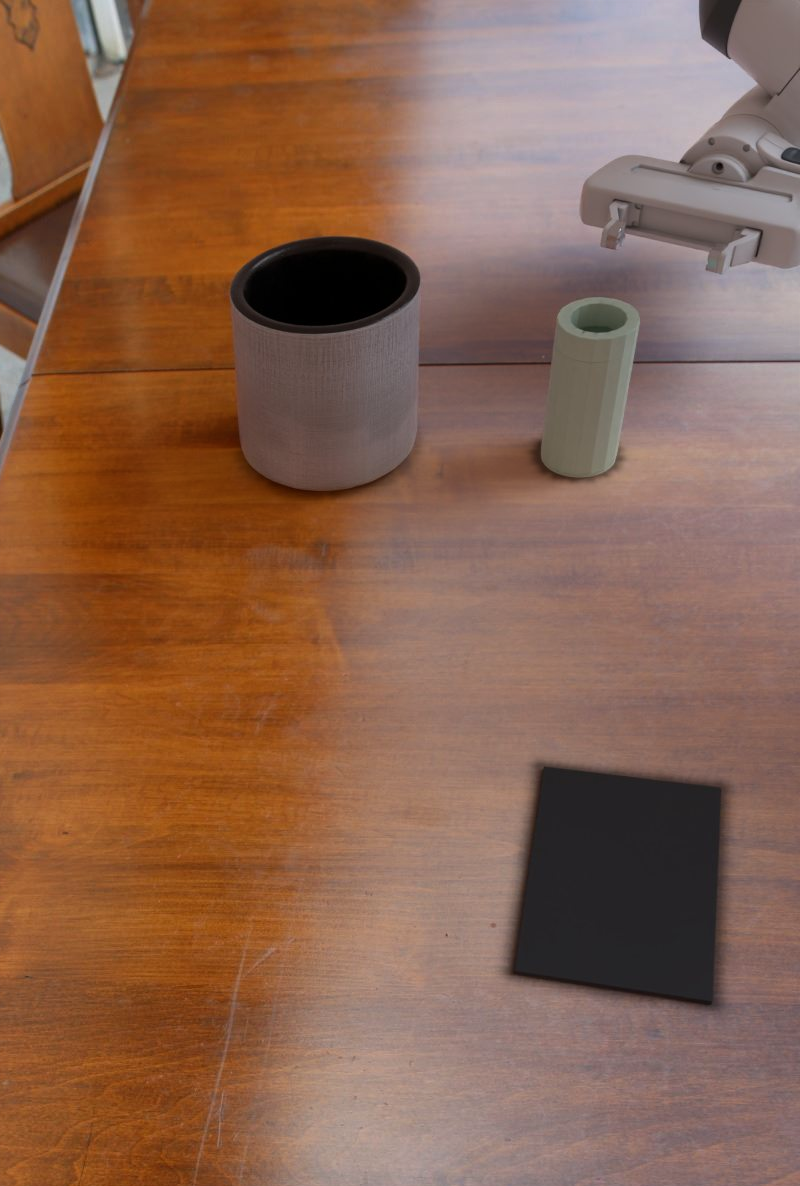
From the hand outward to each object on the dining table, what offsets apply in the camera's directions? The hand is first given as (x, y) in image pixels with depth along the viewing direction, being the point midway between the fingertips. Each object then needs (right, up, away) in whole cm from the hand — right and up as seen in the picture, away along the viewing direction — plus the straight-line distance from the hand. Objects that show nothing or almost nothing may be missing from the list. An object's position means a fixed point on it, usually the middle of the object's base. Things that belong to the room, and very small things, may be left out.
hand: (661, 252), depth 112 cm
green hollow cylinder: (-6, -16, +4) cm, 18 cm away
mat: (-11, -54, -24) cm, 60 cm away
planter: (-27, -13, +9) cm, 32 cm away
